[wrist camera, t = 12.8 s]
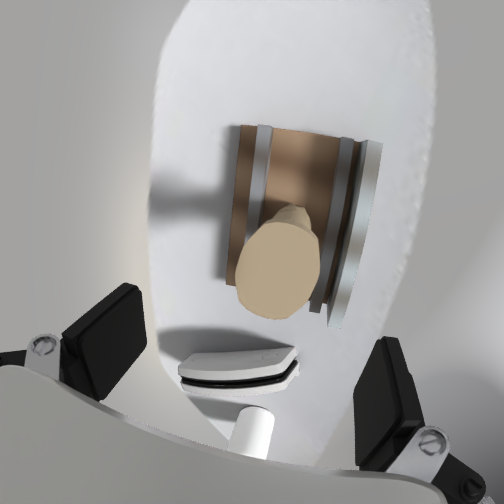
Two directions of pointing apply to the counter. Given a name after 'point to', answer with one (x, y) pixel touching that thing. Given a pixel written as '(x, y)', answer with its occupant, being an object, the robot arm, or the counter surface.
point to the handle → (279, 265)
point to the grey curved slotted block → (239, 372)
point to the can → (252, 432)
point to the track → (308, 201)
